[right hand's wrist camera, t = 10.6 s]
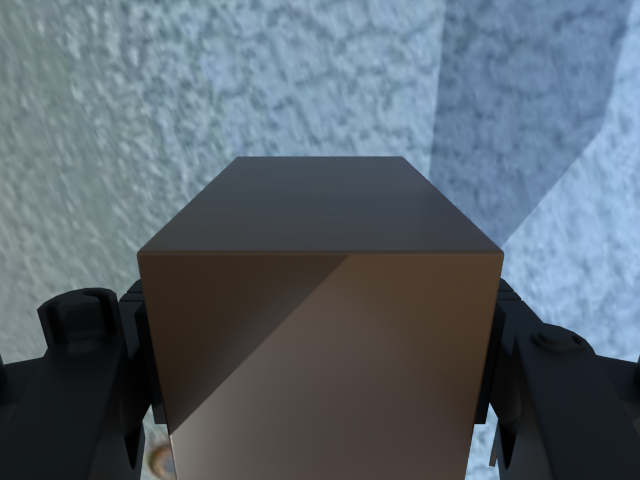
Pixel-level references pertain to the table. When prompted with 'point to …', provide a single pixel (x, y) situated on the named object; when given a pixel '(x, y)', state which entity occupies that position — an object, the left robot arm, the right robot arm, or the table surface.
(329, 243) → the bar
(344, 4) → the table surface
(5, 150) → the table surface
